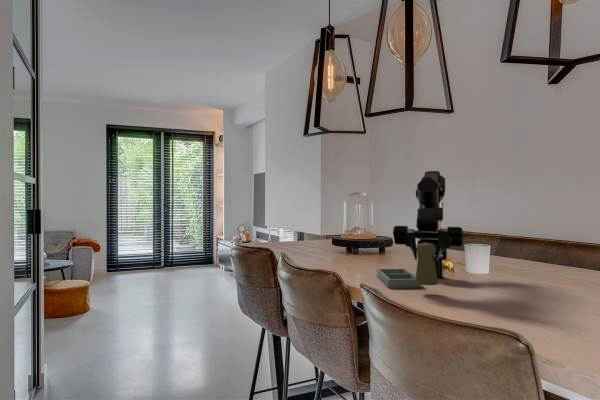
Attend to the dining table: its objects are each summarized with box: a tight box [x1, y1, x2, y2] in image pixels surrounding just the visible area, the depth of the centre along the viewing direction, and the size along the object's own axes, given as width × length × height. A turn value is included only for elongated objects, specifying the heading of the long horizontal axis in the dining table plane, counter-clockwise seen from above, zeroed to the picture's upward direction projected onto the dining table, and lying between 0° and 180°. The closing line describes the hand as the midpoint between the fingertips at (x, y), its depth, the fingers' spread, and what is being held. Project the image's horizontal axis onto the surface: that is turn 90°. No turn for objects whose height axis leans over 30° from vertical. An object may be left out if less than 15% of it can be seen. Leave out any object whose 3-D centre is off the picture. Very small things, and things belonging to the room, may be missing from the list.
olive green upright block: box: [415, 243, 439, 286], centre depth 115 cm, size 6×6×11 cm
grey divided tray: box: [376, 268, 422, 289], centre depth 132 cm, size 10×18×2 cm, turn 0°
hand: (425, 259), depth 114 cm, fingers closed on olive green upright block, 5 cm apart
